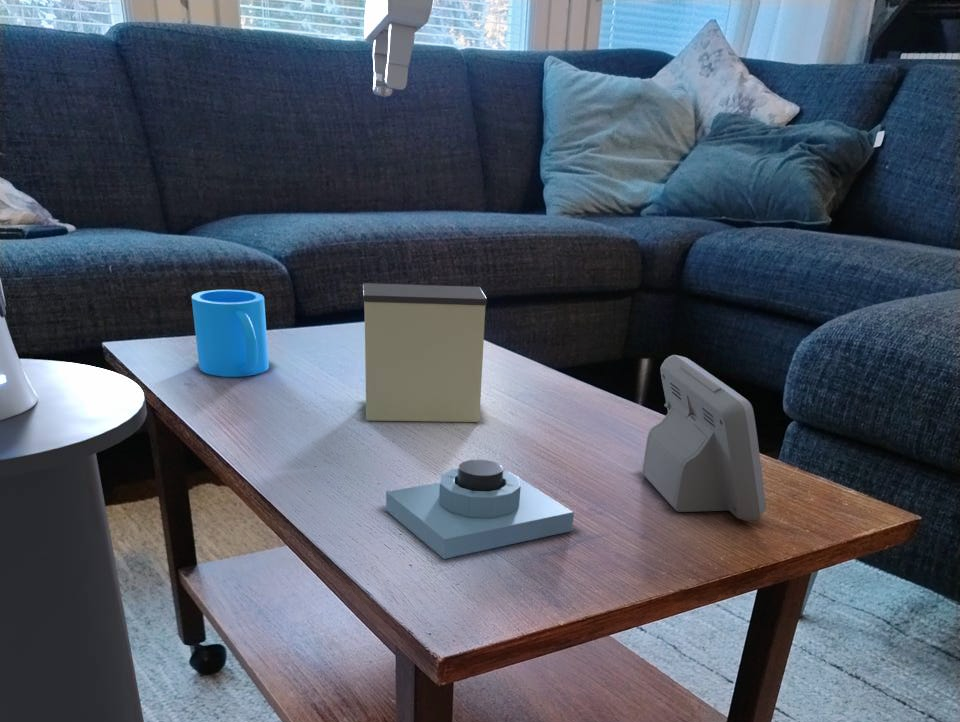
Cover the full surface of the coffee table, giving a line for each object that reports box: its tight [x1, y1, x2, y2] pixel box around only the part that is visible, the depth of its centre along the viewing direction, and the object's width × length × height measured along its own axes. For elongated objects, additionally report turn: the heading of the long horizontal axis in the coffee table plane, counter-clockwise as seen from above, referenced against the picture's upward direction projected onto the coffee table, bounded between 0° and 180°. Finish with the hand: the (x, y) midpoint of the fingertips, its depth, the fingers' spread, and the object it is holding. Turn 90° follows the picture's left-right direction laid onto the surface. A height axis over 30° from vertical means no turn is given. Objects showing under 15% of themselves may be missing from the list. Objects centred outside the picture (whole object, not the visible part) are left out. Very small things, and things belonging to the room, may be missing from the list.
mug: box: [191, 289, 270, 378], centre depth 106 cm, size 12×8×8 cm
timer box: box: [385, 467, 575, 560], centre depth 74 cm, size 12×10×4 cm
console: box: [362, 282, 488, 423], centre depth 95 cm, size 6×12×13 cm, turn 97°
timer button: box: [457, 459, 504, 491], centre depth 73 cm, size 4×4×2 cm
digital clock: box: [641, 354, 767, 522], centre depth 80 cm, size 16×9×11 cm, turn 179°
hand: (388, 92), depth 85 cm, fingers open, 8 cm apart
